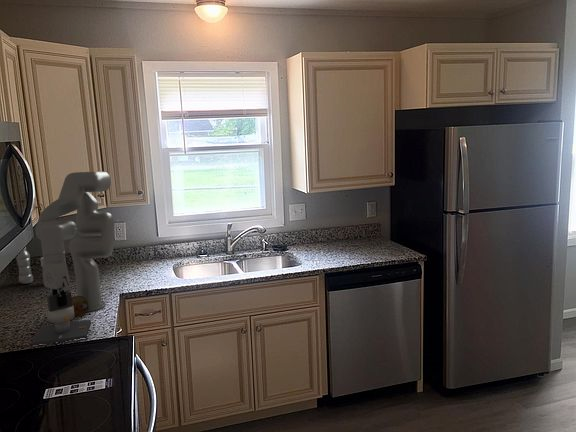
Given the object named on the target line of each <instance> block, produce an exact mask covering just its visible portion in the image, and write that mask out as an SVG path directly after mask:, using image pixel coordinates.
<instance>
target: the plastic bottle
mask: <svg viewBox="0 0 576 432" xmlns="http://www.w3.org/2000/svg"><path fill="white" fill-rule="evenodd" d="M15 259H16V263H17V267H18V282H19V283H20V284H23V285H27V284H30V283H32V282H33V281H34V276H33V274H32V269H31V254H30V253H29V251H27V246H26V247H25V248H24V249H23V250H22V251H21V252H20V254H18V256H17V257H16V256H15Z"/></svg>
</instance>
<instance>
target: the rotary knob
mask: <svg viewBox="0 0 576 432" xmlns="http://www.w3.org/2000/svg"><path fill="white" fill-rule="evenodd" d="M57 297H59V296H58V294H54V295H51V294H50V295H47V296H46V301H47V310H46V311H47V318H48V323H51V324H55V323H61V322H68V321H69V322H71V320H74V319H75V318H76V317H75V315H74V306H73V305H72V297H73V296H72V292H71V291H70V290H69V291H68V292H67V295H66V299H67V305H65V306H62V307H58V299H57Z"/></svg>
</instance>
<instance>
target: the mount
mask: <svg viewBox="0 0 576 432" xmlns="http://www.w3.org/2000/svg"><path fill="white" fill-rule="evenodd" d="M90 324H91V325H92V319H86V320H85V319H84V320H76V321H68V322H61V323H51V324H46V325H41V326H40V328H39V329H38V331H37V333H36V336H35V337H34V339H33V340H32V346H33V345H39V344H49V345H51V344H50V343H56V342H64V341H69V340H74V339H80V338H87V339H88V336H87V334H88V335H89V333H88V331H89V332H90V329H89V328H91V325H90ZM64 343H65V342H64Z"/></svg>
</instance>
